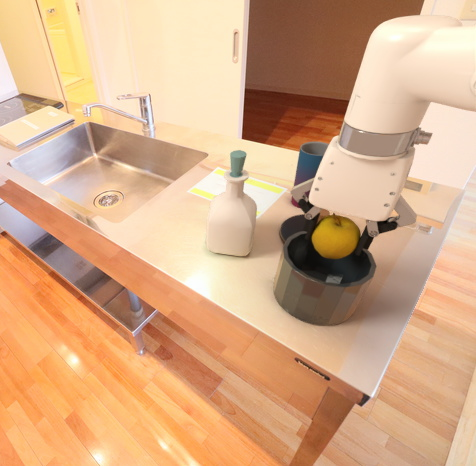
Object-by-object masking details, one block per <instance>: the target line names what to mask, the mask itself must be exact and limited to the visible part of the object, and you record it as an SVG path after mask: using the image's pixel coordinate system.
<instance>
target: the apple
mask: <svg viewBox="0 0 476 466" xmlns="http://www.w3.org/2000/svg"><path fill="white" fill-rule="evenodd" d="M335 213H336V212H332V214H329V215H328V216H325V217H324V218H322V219H321V220H320V221H319V222H318V223H317V225H316V226H315V228H314V230H313V233H312V243H313V245H314V247H315V249H316V250H317V251H318V252H319V254H320V255H321V256H323V257H325V258H330V259H340V258H343V257H345V256H347V255H349V254H350V253H352V252H353V251H354V250H355V249H356V247H357V246H358V243H359V241H360V237H361V235H362V232H361V230H360V227H359V226H358V225H357V223H355V221H353V219H350V218H349V217H346V216H344V215H338V214H335Z"/></svg>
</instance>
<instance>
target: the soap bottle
mask: <svg viewBox="0 0 476 466" xmlns="http://www.w3.org/2000/svg"><path fill="white" fill-rule="evenodd" d="M247 155H248V153H247V152H246V151H245V150H241V149H237V150H233V151H230V153H229V156H230V159H229V160H230V168H229V169H227V170H225V171H224V173H223V179H224V180H225V181H226V185H225V190H224V191H222V192H221V193H219V194H218V195H215V197H213V198H212V200H211V202H210V203H209V210H208V213H207V217H206V231H205V232H206V233H205V245H206V248H207V250H208V251H209V252H211V253H215V254H221V255H228V256H229V255H230V256H236V257H246V256H248V254H250V252H251V251H252V248H253V242H254V236H255V229H256V222H257V212H258V205H257V203H256V201H255V200H254V199H253V198H252V197H251V196H250V195H248V194H247V193H245V192H244V187H245V182H246V181H248V180H249V177H250V173H249V172H248V171H247V170H246V169H244V166H245V162H246V159H247Z"/></svg>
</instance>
